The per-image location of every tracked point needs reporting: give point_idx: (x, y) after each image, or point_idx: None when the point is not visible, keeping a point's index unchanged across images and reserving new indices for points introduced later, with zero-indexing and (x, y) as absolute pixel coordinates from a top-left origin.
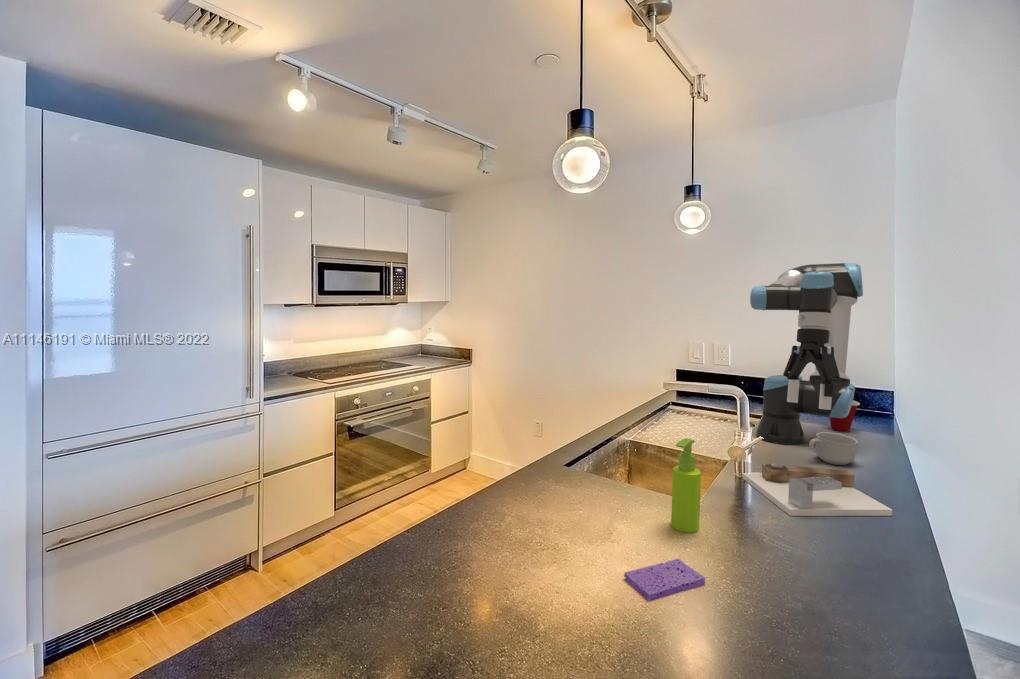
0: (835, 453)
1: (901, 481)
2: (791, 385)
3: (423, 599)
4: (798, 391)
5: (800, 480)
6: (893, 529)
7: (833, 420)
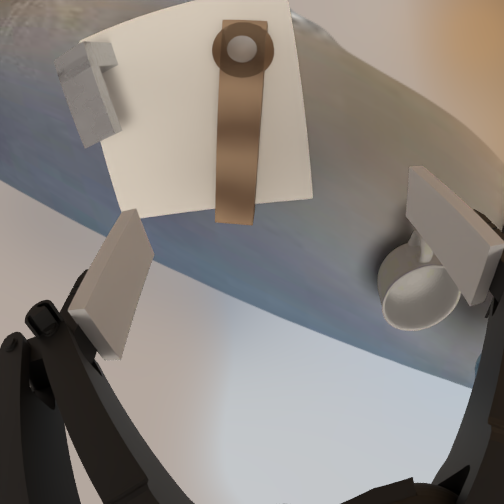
0: (388, 267)
1: (299, 317)
2: (463, 231)
3: None
4: (434, 253)
5: (76, 62)
6: (80, 190)
7: None
